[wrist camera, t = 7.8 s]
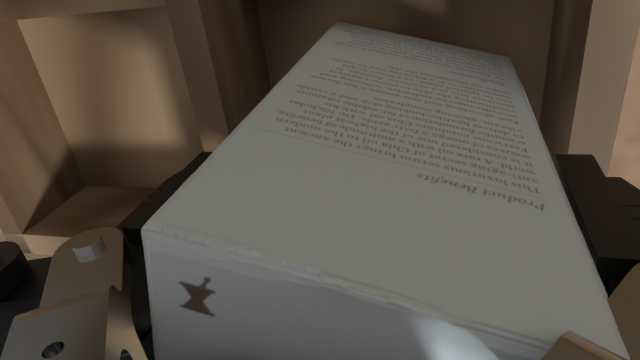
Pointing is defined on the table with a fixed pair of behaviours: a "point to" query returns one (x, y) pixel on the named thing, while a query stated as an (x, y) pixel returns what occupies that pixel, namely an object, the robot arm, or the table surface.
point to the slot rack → (246, 86)
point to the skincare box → (376, 219)
